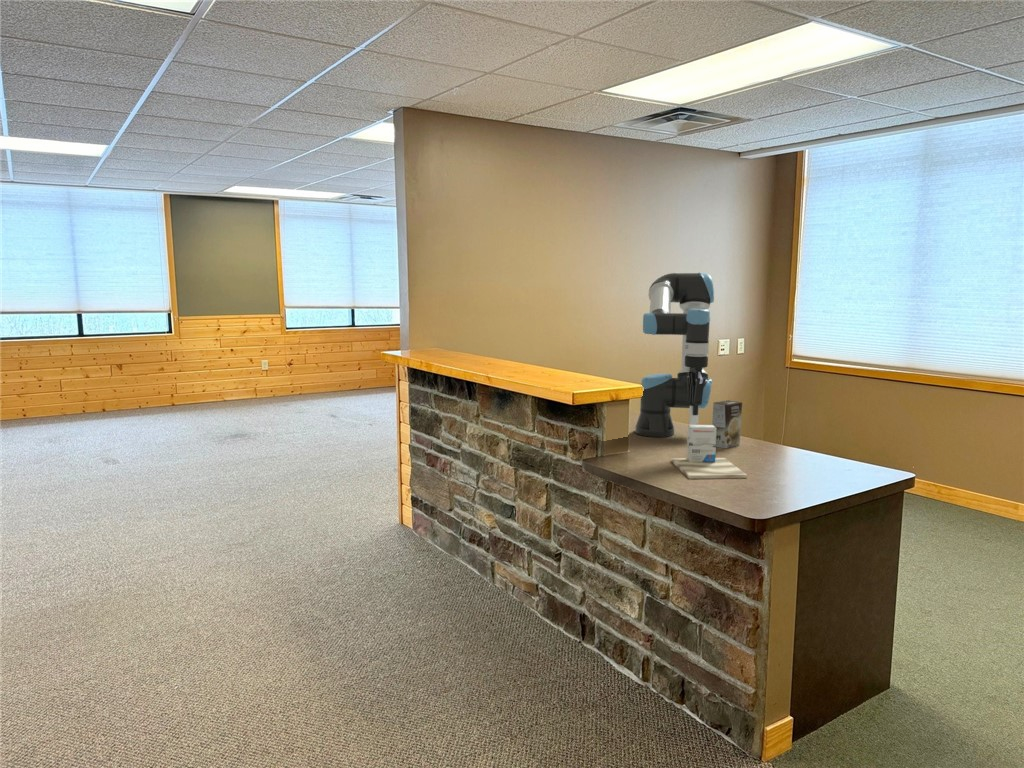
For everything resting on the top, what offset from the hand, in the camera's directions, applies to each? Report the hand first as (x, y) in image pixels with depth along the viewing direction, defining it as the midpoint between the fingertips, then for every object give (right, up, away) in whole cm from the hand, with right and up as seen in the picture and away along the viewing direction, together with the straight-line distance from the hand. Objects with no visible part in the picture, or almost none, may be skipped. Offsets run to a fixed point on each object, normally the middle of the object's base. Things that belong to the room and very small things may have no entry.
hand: (693, 423), depth 234 cm
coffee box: (+16, -9, +17) cm, 26 cm away
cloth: (+1, -14, -14) cm, 20 cm away
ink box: (0, -12, -7) cm, 14 cm away
